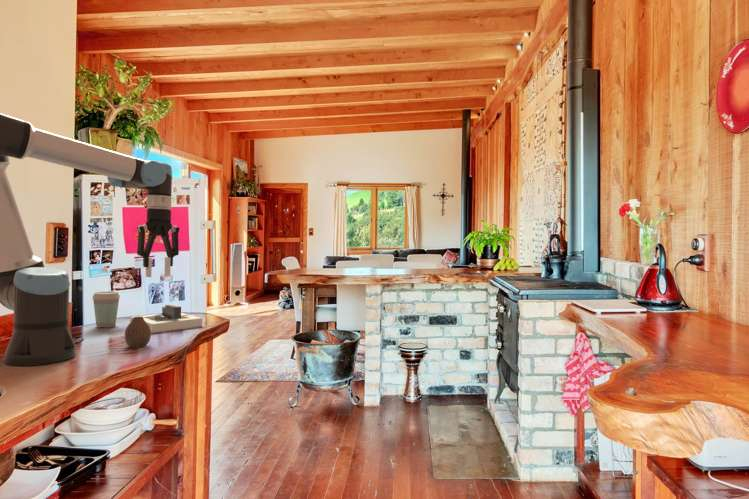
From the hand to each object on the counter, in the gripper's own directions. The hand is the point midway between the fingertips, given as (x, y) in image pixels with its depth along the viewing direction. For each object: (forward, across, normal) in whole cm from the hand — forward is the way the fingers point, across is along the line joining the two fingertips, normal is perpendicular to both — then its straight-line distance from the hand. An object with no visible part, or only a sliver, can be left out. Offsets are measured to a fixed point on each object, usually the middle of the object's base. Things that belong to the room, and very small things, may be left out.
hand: (158, 276), depth 158 cm
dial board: (+19, +6, +7) cm, 21 cm away
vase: (+19, -14, -18) cm, 29 cm away
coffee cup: (+19, -10, +19) cm, 29 cm away
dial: (+17, +7, +5) cm, 19 cm away
